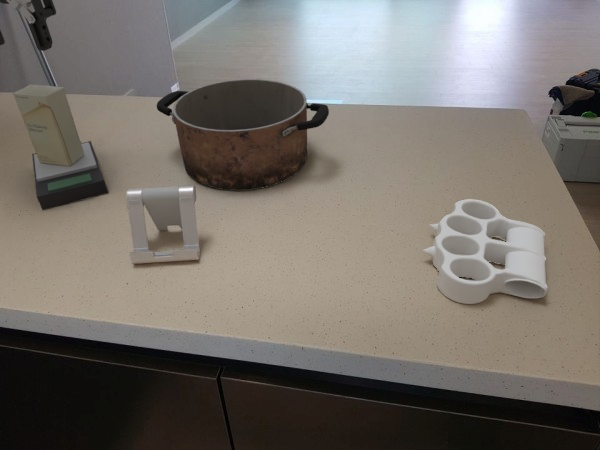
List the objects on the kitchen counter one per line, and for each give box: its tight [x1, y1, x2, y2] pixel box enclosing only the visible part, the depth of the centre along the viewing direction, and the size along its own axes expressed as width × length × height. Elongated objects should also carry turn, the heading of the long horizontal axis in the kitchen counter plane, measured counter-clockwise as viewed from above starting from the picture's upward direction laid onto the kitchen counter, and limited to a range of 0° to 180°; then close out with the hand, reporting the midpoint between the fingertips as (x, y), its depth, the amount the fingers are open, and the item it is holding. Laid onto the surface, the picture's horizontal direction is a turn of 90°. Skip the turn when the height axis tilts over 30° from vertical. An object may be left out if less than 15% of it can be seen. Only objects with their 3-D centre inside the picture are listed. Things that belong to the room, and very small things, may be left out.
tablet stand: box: [125, 185, 201, 265], centre depth 61 cm, size 9×8×8 cm
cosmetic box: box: [12, 83, 84, 166], centre depth 74 cm, size 6×4×12 cm
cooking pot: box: [156, 78, 330, 191], centre depth 80 cm, size 30×22×11 cm
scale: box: [31, 140, 109, 211], centre depth 78 cm, size 16×10×3 cm, turn 28°
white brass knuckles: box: [421, 198, 549, 305], centre depth 59 cm, size 3×18×15 cm
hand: (21, 47), depth 67 cm, fingers open, 8 cm apart
